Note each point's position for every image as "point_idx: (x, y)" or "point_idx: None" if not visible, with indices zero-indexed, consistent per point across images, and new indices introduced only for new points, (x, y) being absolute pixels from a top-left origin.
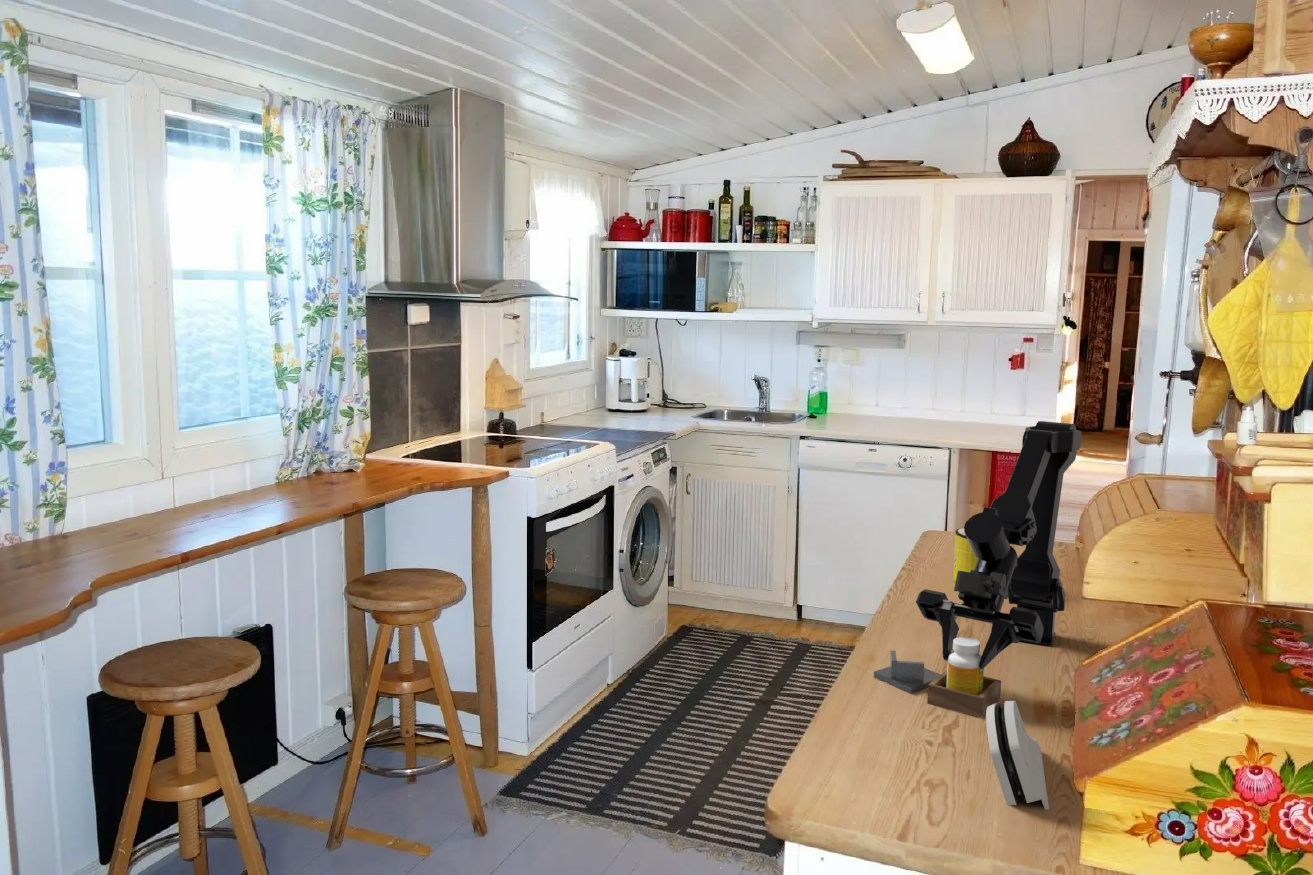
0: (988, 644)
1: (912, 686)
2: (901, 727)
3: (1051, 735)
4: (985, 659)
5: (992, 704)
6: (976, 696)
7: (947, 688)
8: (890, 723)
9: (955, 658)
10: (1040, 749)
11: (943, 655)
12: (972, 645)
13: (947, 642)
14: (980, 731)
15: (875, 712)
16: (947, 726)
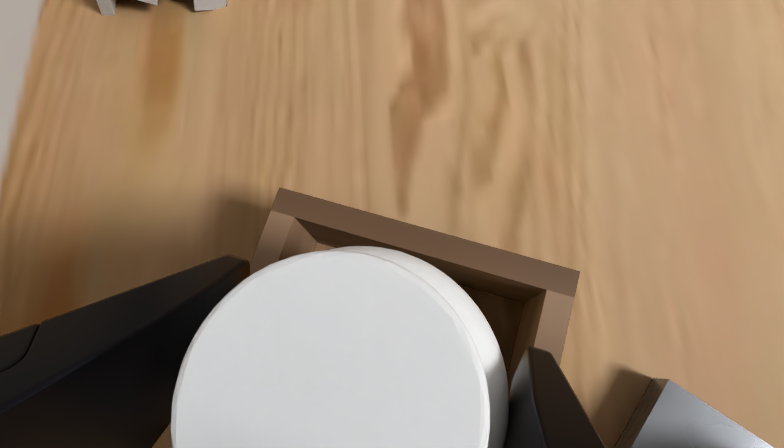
0: (70, 343)
1: (668, 401)
2: (603, 20)
3: (41, 154)
4: (178, 273)
5: None
6: (305, 204)
7: (464, 256)
8: (653, 37)
9: (436, 282)
10: (99, 6)
11: (549, 354)
12: (258, 289)
13: (555, 443)
14: (304, 93)
15: (746, 112)
16: (431, 90)
